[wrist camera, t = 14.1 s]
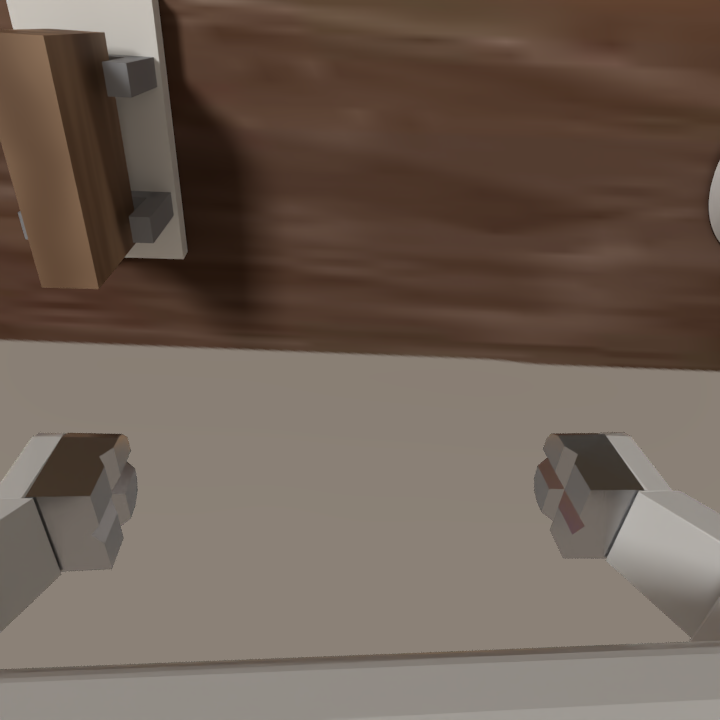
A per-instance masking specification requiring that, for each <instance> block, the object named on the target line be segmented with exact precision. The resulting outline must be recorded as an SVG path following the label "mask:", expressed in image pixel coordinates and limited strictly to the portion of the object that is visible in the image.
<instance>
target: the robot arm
mask: <svg viewBox="0 0 720 720" xmlns="http://www.w3.org/2000/svg"><path fill="white" fill-rule="evenodd" d="M709 217H710V222H711V226H712V229H713V231H714V234H715V236H716V237H717V239H718V241H719V242H720V161H719V163H718V166H717V168H716V171H715V174H714V177H713V180H712V184H711V188H710V195H709ZM543 450H544V452H545V454H546V456H547V458H546V459H545V460H544V461H543V462H541V463H540V464H539V465H538V466H537V470H536V474H535V477H534V488H535V489H534V491H535V495H536V500H537V503H538V505H539V507H540V510H541V512H542V513H543V514H545V515H546V516H548V517H549V518H550V519H551V520H553V523H552V525H551V528H550V531H551V533H552V536H553V538H554V540H555V542H556V544H557V546H558V548H559V550H560V553H561V555H562V557H563V558H607V559H606V561H607V562H608V563H609V564H610V565H611V566H612V567H613V568H614V569H615V570H617V571H618V572H619V573H620V574H621V575H622V576H623V577H625V579H627V580H628V581H629V582H630V583H631V584H632V585H633V586H634V587H635V588H637V589H638V590H639V591H640V592H641V593H642V594H643V595H644V596H645V597H647V598H648V599H649V600H650V601H651V602H652V603H653V604H654V605H655V606H656V607H658V608H659V609H660V610H661V611H662V612H663V613H664V614H665V615H666V616H668V617H669V618H670V619H671V620H672V621H673V622H674V623H675V624H676V625H678V626H679V627H680V628H681V629H682V630H683V631H684V632H685V633H686V634H687V635H689V636H690V637H691V639H690V641H689V642H670V643H647V644H646V643H645V644H619V645H594V646H570V647H547V648H524V649H501V650H478V651H477V650H475V651H454V652H453V651H451V652H427V653H401V654H376V655H352V656H351V655H350V656H324V657H298V658H275V659H274V658H273V659H247V660H223V661H199V662H174V663H149V664H124V665H98V666H76V667H75V666H73V667H49V668H24V669H0V720H720V513H718V512H716V511H715V510H713V509H711V508H710V507H708V506H706V505H704V504H703V503H701V502H699V501H698V500H696V499H694V498H692V497H691V496H689V495H687V494H686V493H684V492H682V491H673V490H672V489H671V488H670V486H669V485H668V484H667V482H666V481H665V480H664V478H663V477H662V476H661V475H660V473H659V472H658V471H657V469H656V468H655V467H654V466H653V464H652V463H651V462H650V460H649V459H648V458H647V457H646V455H645V454H644V453H643V451H642V450H641V449H640V448H639V446H638V445H637V444H636V442H635V441H634V440H633V438H632V437H631V436H630V435H628V434H626V433H625V432H614V433H613V432H611V433H599V434H598V433H586V434H585V433H580V434H579V433H572V434H550V435H549V437H548V438H547V439H546V442H545V445H544V448H543ZM130 452H131V449H130V445H129V441H128V438H127V436H125V435H123V434H95V433H94V434H93V433H67V434H65V433H38V434H37V435H35V436H33V437H32V438H31V439H30V440H29V442H28V443H27V445H26V446H25V448H24V449H23V451H22V452H21V454H20V455H19V456H18V458H17V459H16V461H15V462H14V464H13V465H12V467H11V468H10V469H9V471H8V472H7V474H6V475H5V477H4V478H3V480H2V481H1V483H0V632H1V631H2V630H4V629H5V628H6V626H8V625H9V624H10V623H11V622H12V621H13V620H14V619H15V618H16V617H17V616H18V615H19V614H20V613H21V612H22V611H23V610H25V608H27V607H28V606H29V605H30V604H31V603H32V602H33V601H34V600H35V599H36V598H37V597H38V596H39V595H40V594H41V593H42V592H43V591H45V590H46V589H47V588H48V587H49V586H50V585H51V584H52V583H53V582H54V581H55V580H56V579H57V578H58V577H59V576H60V575H61V572H65V571H83V570H104V569H112V567H113V565H114V562H115V559H116V557H117V554H118V551H119V549H120V546H121V544H122V541H123V534H122V530H121V526H122V525H123V524H124V523H126V522H127V521H128V520H129V519H131V517H132V514H133V511H134V508H135V504H136V498H137V491H138V489H137V476H136V471H135V468H134V467H133V466H131V465H130V464H129V463H128V462H127V459H128V457H129V454H130Z"/></svg>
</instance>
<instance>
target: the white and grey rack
mask: <svg viewBox="0 0 720 720" xmlns="http://www.w3.org/2000/svg"><path fill="white" fill-rule="evenodd" d="M6 1H7V5H8V10H9V14H10V18H11V22H12V26H13V29H62V30H77V31H92V32H105V38H106V44H107V50H108V56H109V60H108V61H103V62H102V66H103V71H104V77H105V83H106V89H107V95H108V96H109V97H115V98H116V104H117V110H118V116H119V122H120V128H121V134H122V140H123V146H124V152H125V158H126V164H127V170H128V176H129V182H130V188H131V194H132V200H133V206H134V212H133V213H132V214H131V215H130V216H129V221H130V227H131V233H132V239H133V243H136V244H135V245H134V246H133V247H132V249H131V250H130V251H129V252H128V254H127V255H126V256H125V258H159V259H184V258H185V256H186V254H187V252H188V250H187V241H186V233H185V224H184V216H183V207H182V199H181V190H180V182H179V173H178V165H177V156H176V148H175V139H174V131H173V122H172V114H171V105H170V97H169V88H168V80H167V71H166V63H165V54H164V46H163V37H162V29H161V20H160V12H159V3H158V0H6ZM18 215H19V218H20V222H21V225H22V229H23V232H24V236H25V239H28V236H27V233H26V229H25V226H24V222H23V219H22V215H21V212H18Z"/></svg>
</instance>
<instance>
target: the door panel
mask: <svg viewBox="0 0 720 720" xmlns="http://www.w3.org/2000/svg"><path fill="white" fill-rule="evenodd" d="M108 60H109V56H108V50H107V44H106V38H105V32H92V31H77V30H62V29H13V30H0V141H1V144H2V148H3V151H4V155H5V158H6V162H7V165H8V169H9V172H10V176H11V180H12V183H13V187H14V190H15V194H16V197H17V201H18V204H19V208H20V212H21V215H22V219H23V222H24V226H25V229H26V233H27V236H28V240H29V243H30V247H31V251H32V254H33V258H34V261H35V265H36V268H37V272H38V275H39V279H40V282H41V286H42V288H81V289H99V288H100V287H101V286H102V284H103V283H104V282H105V281H106V280H107V278H108V277H109V276H110V275H111V273H112V272H113V271H114V270H115V268H116V267H117V266H118V265H119V263H120V262H121V261H122V260H123V258H124V257H125V256H126V255H127V254H128V252H129V251H130V250H131V249H132V247H133V246H134V245H135V244H136V243H133V239H132V233H131V227H130V221H129V216H130V215H131V214H132V213H133V212H134V206H133V200H132V194H131V188H130V182H129V176H128V170H127V164H126V158H125V152H124V146H123V140H122V134H121V128H120V122H119V116H118V110H117V104H116V98H115V97H109V96H108V95H107V89H106V83H105V77H104V71H103V66H102V62H103V61H108Z"/></svg>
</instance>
